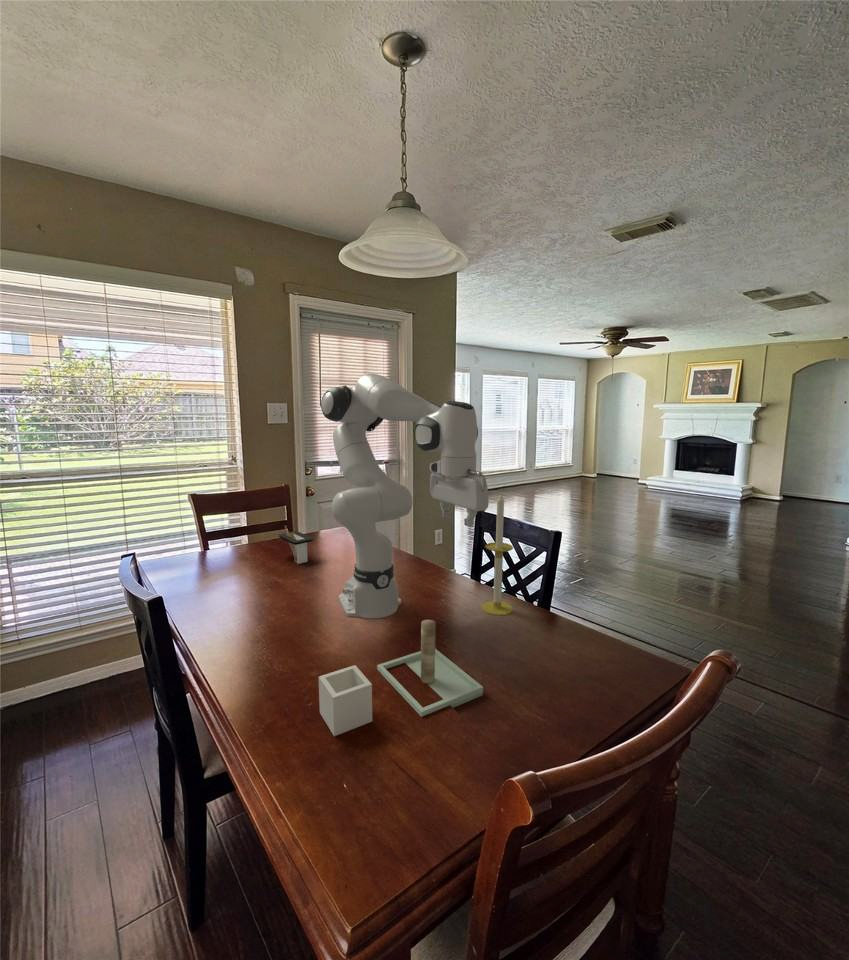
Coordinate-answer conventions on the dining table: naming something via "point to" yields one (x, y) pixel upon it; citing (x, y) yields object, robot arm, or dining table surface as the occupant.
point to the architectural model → (297, 544)
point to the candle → (498, 566)
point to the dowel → (428, 651)
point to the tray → (436, 682)
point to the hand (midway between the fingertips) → (457, 521)
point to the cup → (345, 699)
